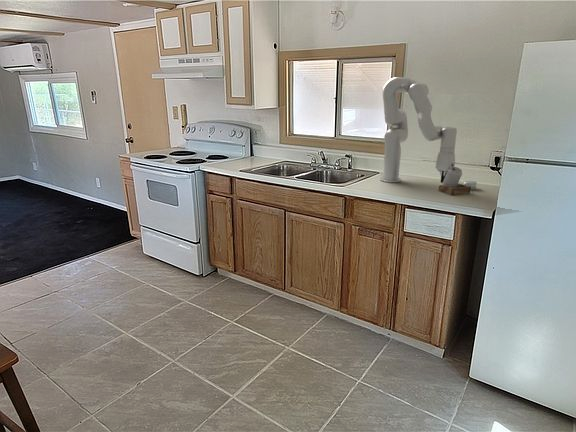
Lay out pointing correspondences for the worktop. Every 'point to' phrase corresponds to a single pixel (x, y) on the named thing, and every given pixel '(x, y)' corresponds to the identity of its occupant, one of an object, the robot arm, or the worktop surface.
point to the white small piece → (470, 184)
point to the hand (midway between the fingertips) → (443, 182)
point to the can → (452, 177)
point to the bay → (455, 189)
